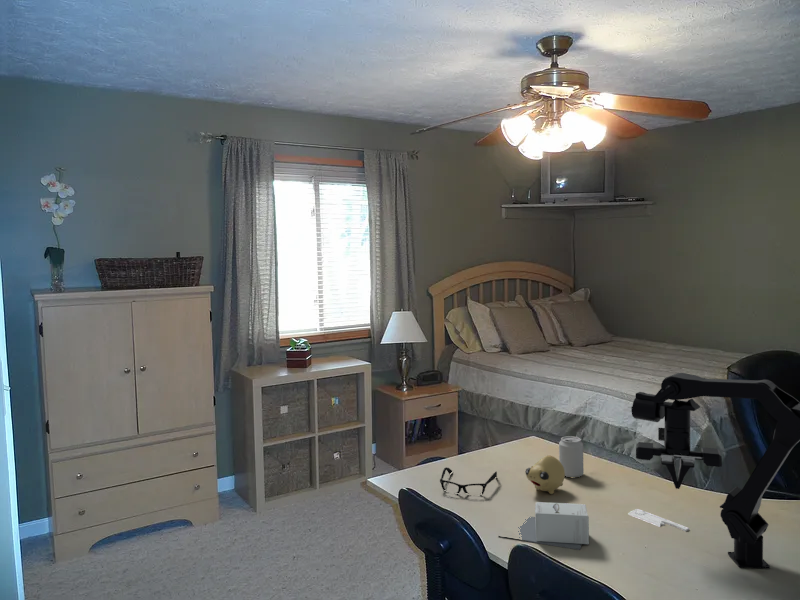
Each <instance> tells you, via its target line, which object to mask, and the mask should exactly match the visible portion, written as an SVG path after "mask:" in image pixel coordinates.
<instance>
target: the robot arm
mask: <svg viewBox="0 0 800 600" xmlns="http://www.w3.org/2000/svg"><path fill="white" fill-rule="evenodd" d="M701 397H711V398H712V397H713V398H728V399H730V398H731V399H747V400H749V399H750V400H757V401H758V402H760V404H761V405H762V406H763V407H764V409H765V410H766V412H768V414H769V415H770V416H771V417H772V418H773V419H775V420H776V421H777V422H776V425H775V428H774V433H773V437H772V440H771V442H770V443H769V445H768V447H767V448H766V450H765V452H764V453H763V455H762V456H761V458H760V460H759V462H758V463H757V465H756V466H755V468H754V469H753V471H752V473H751V475H750V476H749V478H748V479H747V481H746V482H745V484H744V485H743V487H742V489H741V488H740V487H739V486H735V487H733V489H732V490H730V491H729V492H728V493H727V495H726V498H725V500H724V502H723V503H722V504H720V506H719V508H720V509H721V511H720V518H721V521H722V522H723V523H724V525H726V527H727V530H728V534H729V536H730V538H731V539H733V551H728V552H727V556H729V558H730V559H732V561H733V562H734V563H735V564H736V566H737V567H739V568H741V569H742V568H743V569H744V568H745V569H771V566H770V565H769V563H767V561H766V560H765V559H764V536H763V534H764V533H765V532H767V530H768V527H769V523H768V522H767V521H766V520H765V518H763V516H762V515H761V514H760V513H759V511H760V507H761V505H762V500H763V495H764V493H766V491H767V489H768V488H769V486H770V484H771V483H772V481H773V480H774V479H775V477H776V475H777V474H778V472H779V470H780V469H781V467H782V466H783V465H784V463H785V461H786V459H787V458H788V456H789V454H790V453H791V451H792V450H793V449H794V447H795V446H796V445H797V444H798V443H799V442H800V401H799V400H798V399H797V398H795V397H794V396H793V395H791V394H790V393H788V392H786V391H784V389H782V388H780V387H779V386H778V385H777V384H775V383H774V382H773V381H771V380H769V379H760V380H758V379H757V380H756V379H755V380H750V379H729V378H728V379H725V378H724V379H721V378H719V379H718V378H705V377H701V376H699V375H695V374H690V373H687V372H686V373H685V372H676V373H674V374H671V375H669V376H666V377H664V379H663V380H662V382H661V385H660V389H659V390H658V391H657V392H656V393H655V394H653V393H652V394H651V393H646V392H645V391H638V392H636V393H635V397H634V400H633V402H632V406H631V415H632V417H633V419H635V420H636V419H637V420H642V421H648V422H654V423H659V422H660V421H661V420H664V427H658V428H657V430H658V431H657V434H658V435H657V437H658V439H657V440H658V441H661V442H663V443H664V444H663V446H664V448H662V447H654V442H645V441H638V442H637V443H636V446H635V459H636V460H643V461H650V460H652V459H654V456H657V457H660V464H661V465H663V466H665V467H666V468H667V470H668V472H669V475H670V476H671V480H672V482H673V484H674V489H676V490H680V489H681V486H682V484H683V481H684V479H685V476H686V475H687V473H688V472H689V470H690V468H691V469H692V468H693V469H694V468H695V466H696V465H695V461H696V460H699V461H700V460H701V461H703V464H704V465H706V466H708V467H717V468H721V467H722V466H723V460H722V459H723V458H722V453H721V451H720V450H719V448H714V447H701V451H699V450H698V451H697V450H691V412H695V411H697V410H699V409H700V408H701V406H700V405H699V404H698V403H697V402H695V400H694V399H695V398H701ZM668 400H671V401H673V402H670V401H668ZM675 458H677V459H678V458H679V468H678V472H677V471H676V463H675ZM677 473H678V474H677Z"/></svg>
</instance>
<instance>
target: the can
mask: <svg viewBox="0 0 800 600" xmlns="http://www.w3.org/2000/svg"><path fill="white" fill-rule="evenodd" d="M558 460H559V461H560V462H561V464H562V465H563V467H564V471H565V476H566V477H565V478H567V477H579V478H581V477H582V476H583V475H584V473H585V472H584V470H585V469H584V443H583V442H582V439H581V438H580V437H578V436H572V435H570V436H569V435H568V436H562V437H560V441H559V443H558ZM580 476H581V477H580Z"/></svg>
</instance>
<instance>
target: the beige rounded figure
mask: <svg viewBox="0 0 800 600" xmlns="http://www.w3.org/2000/svg"><path fill="white" fill-rule="evenodd" d="M525 476H526V478H527V480H528V481H530V482H531V483H532V485H533V486H534V488H535V490H539V491H542V492H548V493H549V495H553V494H554V493H555V491H556V490H557V489H558V488H560V487H562V486H563V485H564V480H565V478H566V477H565V471H564V467H563V465H562V464H561V462H560V461H559V458H557V457H555V456H553V455H548V454H547V455H545V456H543V457H542V458H541V459H540V460H537V462H536V463H535V464H534V465H532V466H531V467H528V468H526V469H525Z"/></svg>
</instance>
